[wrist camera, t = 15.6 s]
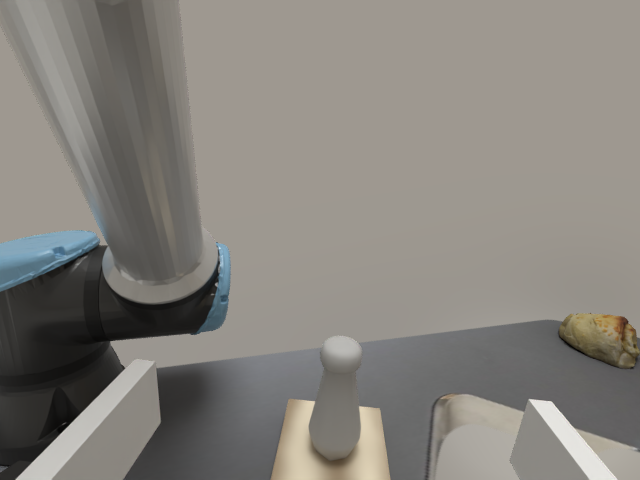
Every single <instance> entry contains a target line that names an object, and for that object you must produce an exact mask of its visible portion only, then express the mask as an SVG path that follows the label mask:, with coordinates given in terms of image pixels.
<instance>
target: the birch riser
mask: <svg viewBox="0 0 640 480" xmlns="http://www.w3.org/2000/svg"><path fill="white" fill-rule="evenodd" d="M314 404H315V402H314V401H304V400H295V399H289V400H288V405H287V409H286V414H285V418H284V423H283V427H282V432H281V436H280V441H279V445H278V450H277V454H276V459H275V463H274V468H273V472H272V477H271V480H390V474H389V467H388V460H387V453H386V447H385V440H384V433H383V426H382V420H381V413H380V409H379V408H369V407H360V406H359V411H360V421H361V433H360V439H359V441H358V443H357V444H356V445H355V447H354V448H353V449H352V451H351V452H350V453H349V455H348V456H347V457H346V458H343V459H338V460H333V461H329V460H328V459H326V458H325V457H324V456H322V455H321V454H319V453H318V452H317V451H316V449H315V447H314V445H313V442H312V440H311V436H310V433H309V427H308V426H309V422H310V418H311V415H312V411H313V407H314Z"/></svg>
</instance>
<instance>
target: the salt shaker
mask: <svg viewBox="0 0 640 480" xmlns="http://www.w3.org/2000/svg"><path fill="white" fill-rule="evenodd" d="M320 359H321V362H322V365H323V367H324V371H323V375H322V378H321V382H320V385H319V389H318V393H317V396H316V400H315V404H314V407H313V411H312V415H311V418H310V422H309V426H308V427H309V433H310V436H311V440H312V442H313V445H314V447H315V449H316V451H317V452H318V453H319V454H321V455H322V456H324V457H325V458H326V459H328V460H329V461H333V460H338V459H343V458H346V457H347V456H348V455H349V453H350V452H351V451H352V449H353V448H354V447H355V445H356V444H357V443H358V441H359V439H360V433H361V421H360V411H359V401H358V390H357V380H356V370H357V369H358V368H359V367H360V365H361V360H362V348H361V347H360V345H359V344H358V343H357V342H356V341H355V340H353V339H352V338H349V337H346V336H333V337H330V338H329V339H327V340H326V341H325V342H324V343H323V345H322V349H321V352H320Z"/></svg>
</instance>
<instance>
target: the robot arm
mask: <svg viewBox="0 0 640 480" xmlns="http://www.w3.org/2000/svg"><path fill="white" fill-rule="evenodd" d="M0 26H1V28H2V30H3V32H4V34H5V36H6V38H7V40H8V42H9V44H10V47H11V49H12V51H13V53H14V55H15V57H16V59H17V60H18V63H19V65H20V67H21V69H22V71H23V73H24V75H25V77H26V79H27V81H28V83H29V85H30V87H31V89H32V91H33V93H34V95H35V97H36V100H37V102H38V104H39V105H40V108H41V110H42V112H43V114H44V116H45V118H46V120H47V122H48V124H49V126H50V128H51V130H52V132H53V134H54V136H55V138H56V140H57V142H58V144H59V146H60V148H61V150H62V153H63V154H64V157H65V159H66V161H67V163H68V165H69V167H70V169H71V171H72V173H73V175H74V177H75V179H76V181H77V183H78V185H79V187H80V189H81V191H82V193H83V195H84V197H85V199H86V201H87V203H88V205H89V208H90V209H91V212H92V214H93V216H94V218H95V220H96V222H97V224H98V226H99V228H100V230H101V232H102V234H103V236H104V238H105V240H106V242H107V244H108V246H101V245H99V243H100V239H99V238H98V237H97V235H96V234H95V233H94V232H91V231H82V230H81V231H80V230H76V231H63V232H55V233H48V234H42V235H36V236H31V237H25V238H21V239H16V240H12V241H8V242H5V243H1V244H0V464H2V465H11V466H10V467H8V468H7V469H5V470H4V471H2V472H1V473H0V480H123V479H124V477H125V476H126V474H127V473H128V471H129V470H130V468H131V467H132V465H133V464H134V462H135V461H136V459H137V458H138V456H139V455H140V453H141V452H142V450H143V449H144V447H145V446H146V444H147V443H148V441H149V440H150V438H151V437H152V435H153V434H154V432H155V431H156V429H157V428H158V426H159V424H160V423H161V418H160V406H159V395H158V383H157V371H156V361H150V360H140V359H135V360H133V362H131V363H130V364H129V365H128V366H127V368H126V369H125V368H124V366H123V365H121V363H120V360H119V359H118V356H117V354H116V353H115V351H114V349H113V348H112V346H111V344H110V341H115V340H126V339H137V338H148V337H159V336H169V335H181V334H191V335H196V334H199V333H201V332H206V331H213V330H216V329H218V328H219V327H220V326H222V324H223V322H224V320H225V318H226V313H227V309H228V295H229V290H230V253H229V249H228V247H226V246H225V245H224V244H219V243H217V242H215V240H214V238H213V237H212V235H211V234H210V233H209V232H208V231H207V230H206V229H205V228H204V227H202V226H201V216H200V206H199V197H198V186H197V176H196V166H195V157H194V148H193V147H194V146H193V136H192V127H191V116H190V106H189V97H188V87H187V76H186V67H185V57H184V47H183V37H182V27H181V17H180V7H179V0H0ZM510 463H511V464H512V466H513V468H514V470H515V472H516V473H517V475H518V477H519V479H520V480H617V479H616V477H615V476H614V475H613V474H612V473H611V472H610V470H609V469H608V468H607V467H606V466H605V464H604V463H603V462H602V461H601V460H600V459H599V457H598V456H597V455H596V454H595V453H594V451H593V450H592V449H591V448H590V447H589V445H588V444H587V443H586V442H585V441H584V440H583V438H582V437H581V436H580V435H579V434H578V432H577V431H576V430H575V429H574V428H573V427H572V425H571V424H570V423H569V422H568V421H567V419H566V418H565V417H564V416H563V415H562V414H561V412H560V411H559V410H558V409H557V408H556V406H555V405H554V404H553V403H552V402H551V401H541V400H532V399H528V402H527V406H526V409H525V412H524V415H523V419H522V422H521V425H520V428H519V432H518V435H517V438H516V442H515V445H514V448H513V452H512V455H511V458H510Z"/></svg>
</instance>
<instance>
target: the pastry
mask: <svg viewBox="0 0 640 480" xmlns="http://www.w3.org/2000/svg"><path fill="white" fill-rule="evenodd" d="M559 336H560V337H561V338H562V339H563V340H564V341H566V342H567V343H568V344H570V345H572V347H574V348H576V349H578V350H579V351H581V352H583V353H585V355H587V356H589V357H592V358H595V359H598V360H601V361H603V362H605V363H607V364H610V365H612V366H616V367H619V368H624V369H630V367H633V366H634V364H635V363H636V361H635V358H636V357H637V356H638V355H639V354H640V352H639V349H638V347H637V337H636V330H635V329H634V328H633V327H632V326H631V325H630V324H628V320H627V319H626V318H625V317H621V316H613V315H602V314H591V313H590V314H583V313H578V314H576V315H573V314H570V315H569V316H568V317H566V319H565V320H564V321H563V322H562V324H561V326H560V328H559Z"/></svg>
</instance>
